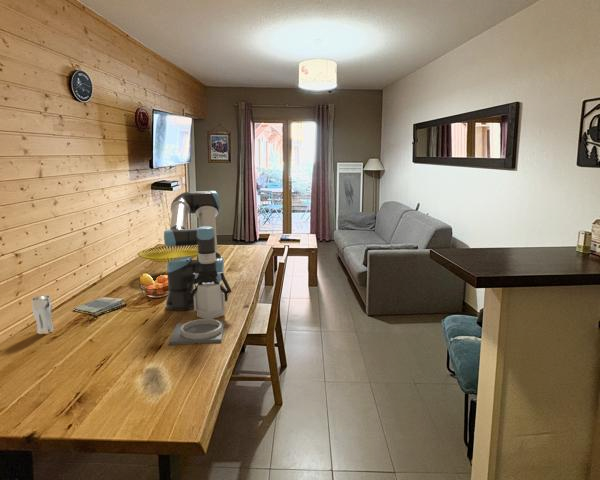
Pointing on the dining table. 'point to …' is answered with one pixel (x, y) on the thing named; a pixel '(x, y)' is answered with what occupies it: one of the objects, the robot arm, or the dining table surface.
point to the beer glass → (42, 313)
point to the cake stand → (168, 256)
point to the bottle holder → (197, 332)
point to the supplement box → (209, 300)
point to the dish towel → (100, 305)
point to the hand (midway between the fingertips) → (210, 308)
